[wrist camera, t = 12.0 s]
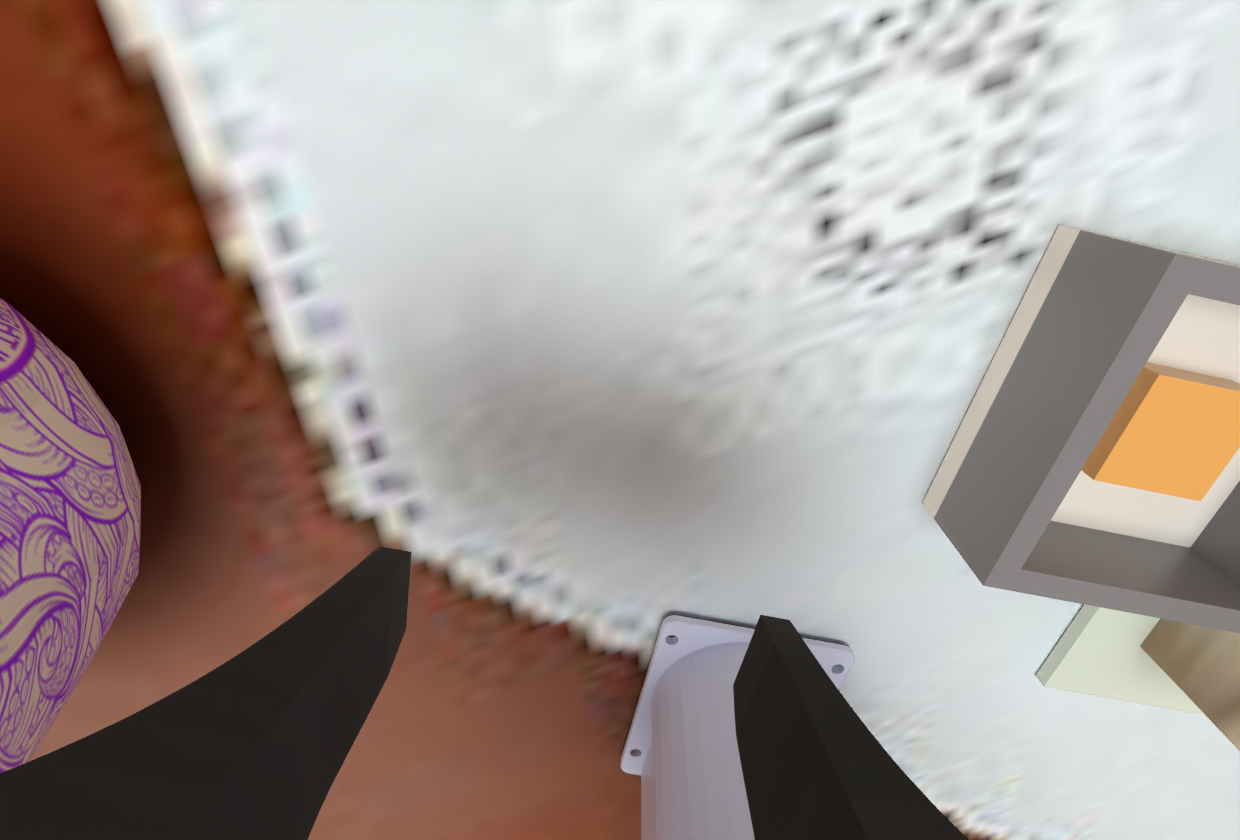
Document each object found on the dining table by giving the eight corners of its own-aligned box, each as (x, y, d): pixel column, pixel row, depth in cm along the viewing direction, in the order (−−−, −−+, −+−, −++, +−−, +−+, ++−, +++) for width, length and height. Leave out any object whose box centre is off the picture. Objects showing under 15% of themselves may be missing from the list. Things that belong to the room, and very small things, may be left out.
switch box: (1175, 552, 23) (1288, 642, 19) (922, 502, 23) (983, 585, 19) (1365, 293, 19) (1560, 339, 15) (1058, 224, 18) (1176, 253, 14)
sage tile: (1211, 706, 27) (1223, 718, 26) (1035, 675, 26) (1043, 686, 26) (1340, 559, 23) (1357, 570, 23) (1141, 520, 23) (1153, 530, 22)
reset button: (1166, 478, 21) (1200, 501, 20) (1066, 458, 21) (1093, 480, 19) (1232, 381, 19) (1274, 398, 18) (1125, 358, 19) (1159, 374, 18)
